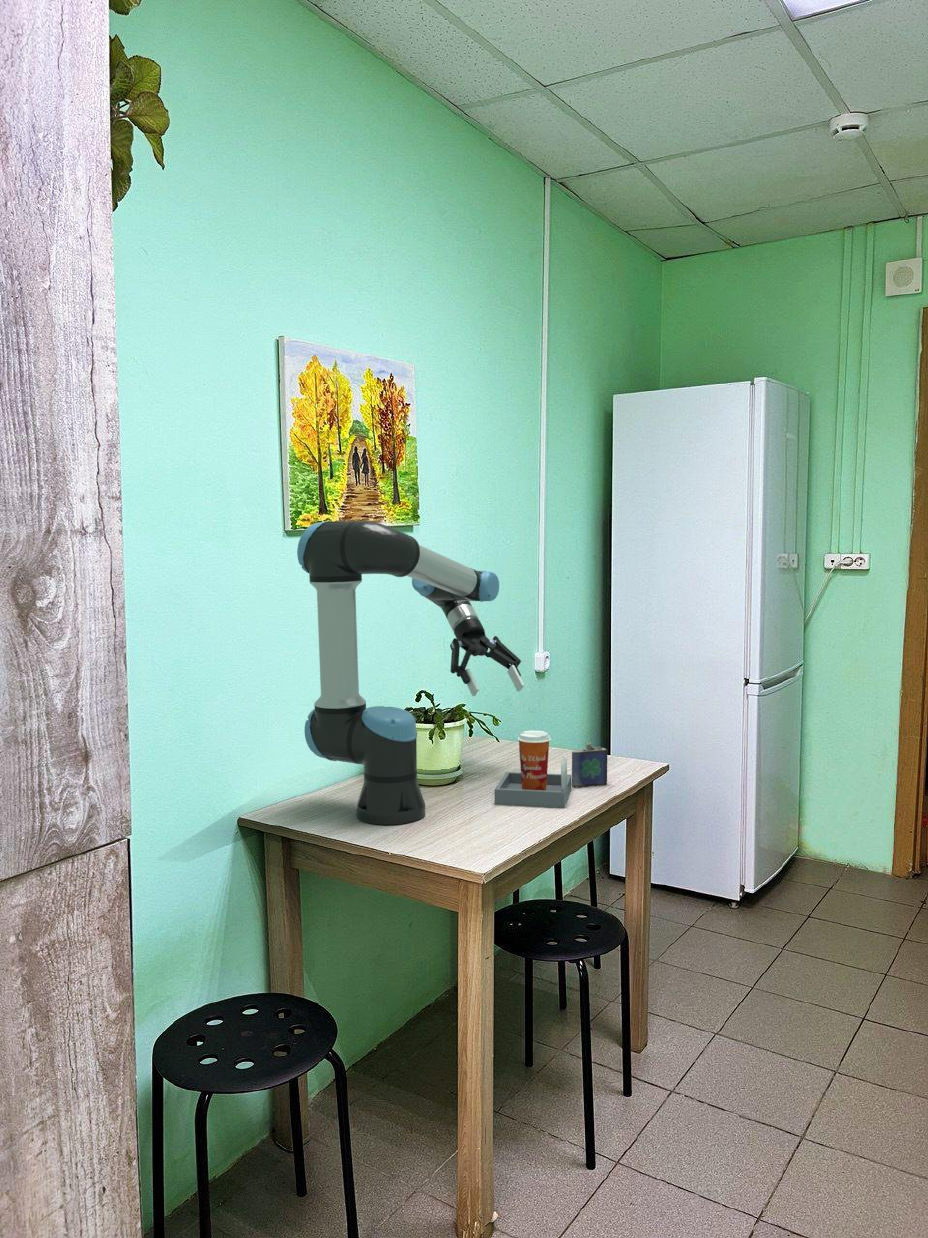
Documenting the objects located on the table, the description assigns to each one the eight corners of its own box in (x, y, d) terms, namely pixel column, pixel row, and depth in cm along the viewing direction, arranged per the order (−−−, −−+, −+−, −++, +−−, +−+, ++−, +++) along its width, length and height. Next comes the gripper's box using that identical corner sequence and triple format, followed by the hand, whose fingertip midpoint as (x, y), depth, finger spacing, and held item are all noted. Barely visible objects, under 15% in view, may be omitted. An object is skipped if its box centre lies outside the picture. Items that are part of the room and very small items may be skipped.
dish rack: (494, 804, 209) (494, 761, 208) (506, 785, 225) (505, 745, 224) (564, 808, 206) (564, 764, 205) (571, 788, 221) (571, 748, 220)
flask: (573, 788, 222) (573, 745, 221) (569, 785, 225) (569, 742, 224) (609, 785, 224) (609, 742, 223) (604, 782, 227) (604, 740, 226)
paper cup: (514, 795, 213) (514, 736, 211) (521, 786, 220) (521, 729, 219) (547, 797, 210) (547, 737, 209) (553, 789, 218) (554, 731, 216)
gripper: (500, 633, 248) (532, 695, 236) (419, 637, 234) (450, 704, 223) (511, 614, 243) (545, 677, 231) (430, 618, 229) (461, 685, 218)
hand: (498, 690), depth 227 cm, fingers open, 13 cm apart
